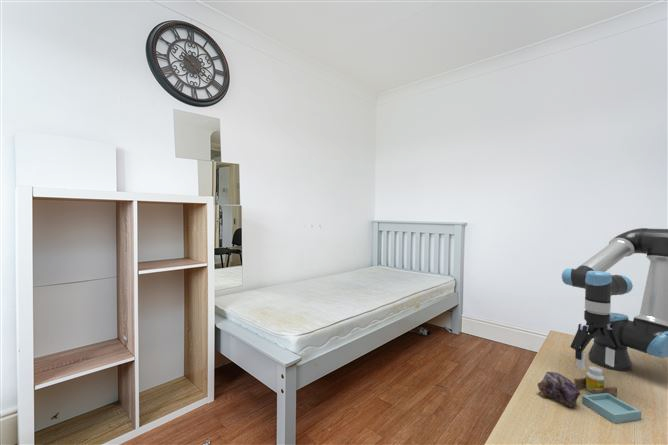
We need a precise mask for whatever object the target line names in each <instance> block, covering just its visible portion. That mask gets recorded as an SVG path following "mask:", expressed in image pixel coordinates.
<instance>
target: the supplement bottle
mask: <svg viewBox="0 0 668 445" xmlns="http://www.w3.org/2000/svg"><path fill="white" fill-rule="evenodd" d="M585 375H586V389H585V390H586V392H587V393H588V395H592V394H593V389H597V388H605V379H606V378H605V376H604V375H603V369H602V368H599V367H596V366H592V365H591V366H589V367H588V371H587V372H586V374H585Z"/></svg>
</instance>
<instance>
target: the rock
mask: <svg viewBox="0 0 668 445" xmlns="http://www.w3.org/2000/svg"><path fill="white" fill-rule="evenodd" d="M537 388H538V391H539V392H540V395H541V396H543V397H544V398H546V399H547V398H548V399H552V400H554V401H556V402H558V403H562V404H564V405H565V406H567V407H569V408H573V409H574V407H575V406H576V403H577V401H578V398H579V396H580V395H581V392H580V391H579V389H577V388H576V386H575V384H574V382H572V380H571V379H570V378H567V377H566V376H564V375H562V374H561V373H558V372H556V371H546V373H545V375H544V376H543V377H542V380H541V381H540V382H538V383H537Z"/></svg>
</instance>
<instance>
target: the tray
mask: <svg viewBox="0 0 668 445" xmlns="http://www.w3.org/2000/svg"><path fill="white" fill-rule="evenodd" d="M581 403H582V405H585V407H588V409H591V410H592V411H594V412H595V413H597V414H599V415H600V416H602V417H604V418H605V419H606V420H608V421H610V422H611V423H613V424H620V423H627V422H633V421H634V422H635V421H641V420H642V411H641V410H639V409H638V408H636V407H634V406H632V405H631V404H629V403H627V402H625V401H623V400H621V399H619V398H618V397H617V398H616V397H614V396H612V395H611V394H609V393H601V394H592V395H591V394H587V395H582V396H581Z"/></svg>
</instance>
